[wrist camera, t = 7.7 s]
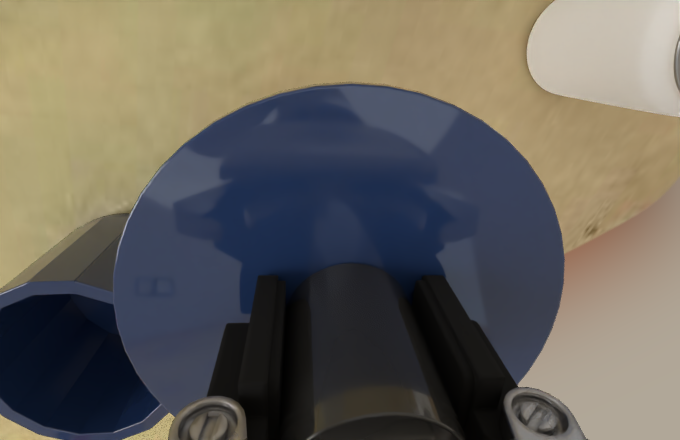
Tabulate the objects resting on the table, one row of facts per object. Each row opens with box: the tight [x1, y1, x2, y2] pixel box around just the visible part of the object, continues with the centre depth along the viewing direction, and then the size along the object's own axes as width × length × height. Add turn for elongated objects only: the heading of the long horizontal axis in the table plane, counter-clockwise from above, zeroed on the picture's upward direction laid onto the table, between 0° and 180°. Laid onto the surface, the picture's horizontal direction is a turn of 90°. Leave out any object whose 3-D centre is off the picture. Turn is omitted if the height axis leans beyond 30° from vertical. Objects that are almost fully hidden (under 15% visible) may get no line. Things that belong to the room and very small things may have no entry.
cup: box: [0, 214, 169, 440], centre depth 28 cm, size 12×12×10 cm
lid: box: [113, 82, 565, 440], centre depth 10 cm, size 13×13×6 cm
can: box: [527, 0, 680, 117], centre depth 22 cm, size 6×6×12 cm
